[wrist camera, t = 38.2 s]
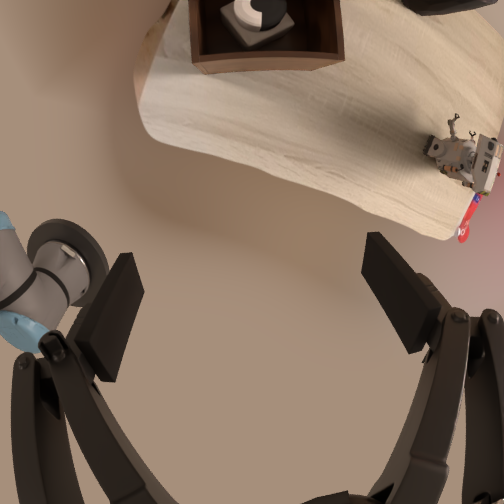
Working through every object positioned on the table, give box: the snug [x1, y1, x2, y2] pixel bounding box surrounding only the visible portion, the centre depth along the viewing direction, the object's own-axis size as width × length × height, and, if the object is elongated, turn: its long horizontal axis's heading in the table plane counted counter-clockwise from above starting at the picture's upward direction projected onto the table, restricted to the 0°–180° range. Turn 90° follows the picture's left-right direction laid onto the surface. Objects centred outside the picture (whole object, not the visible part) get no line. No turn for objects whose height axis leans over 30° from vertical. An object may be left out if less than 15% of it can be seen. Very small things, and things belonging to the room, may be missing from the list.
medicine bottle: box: [220, 0, 295, 52], centre depth 27 cm, size 7×7×12 cm
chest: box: [188, 0, 345, 75], centre depth 26 cm, size 18×17×14 cm
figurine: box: [423, 113, 504, 196], centre depth 37 cm, size 9×12×15 cm
